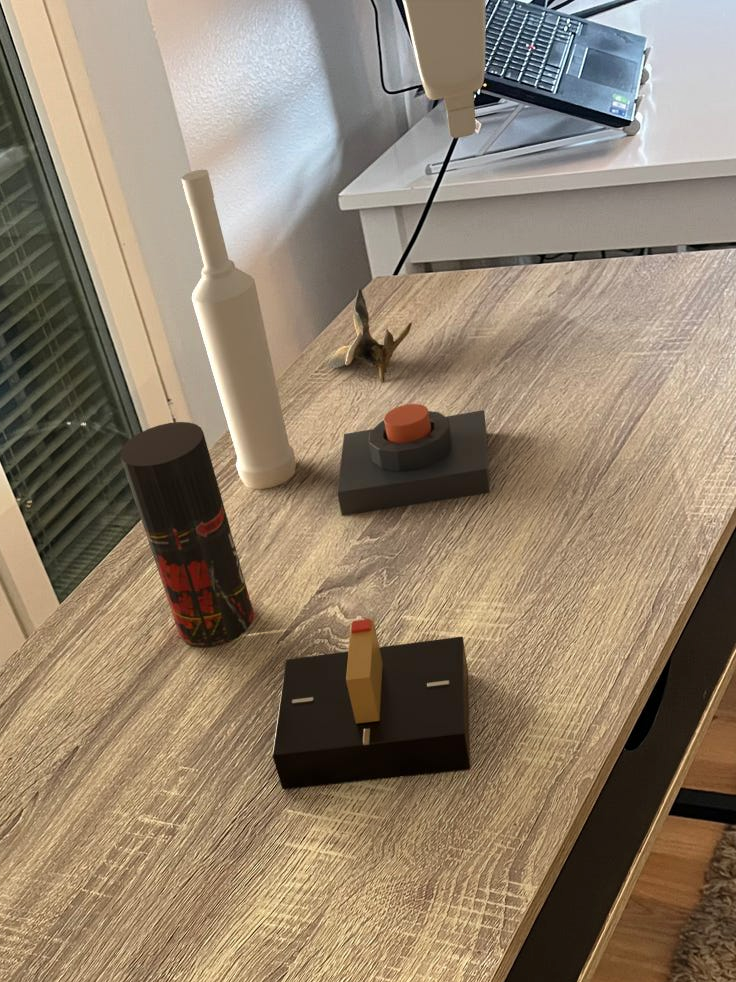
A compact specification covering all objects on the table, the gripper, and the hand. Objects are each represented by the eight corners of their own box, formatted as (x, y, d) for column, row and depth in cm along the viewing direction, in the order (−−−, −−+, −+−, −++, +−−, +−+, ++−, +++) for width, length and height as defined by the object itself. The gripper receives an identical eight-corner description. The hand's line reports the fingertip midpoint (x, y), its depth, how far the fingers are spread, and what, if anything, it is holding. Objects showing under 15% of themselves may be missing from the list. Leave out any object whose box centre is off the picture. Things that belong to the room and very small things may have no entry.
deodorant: (169, 620, 100) (110, 444, 90) (238, 591, 100) (187, 413, 90) (193, 657, 95) (133, 475, 85) (265, 626, 96) (215, 443, 86)
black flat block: (468, 671, 87) (462, 632, 84) (470, 771, 79) (464, 731, 77) (295, 692, 89) (285, 656, 87) (282, 791, 82) (271, 753, 80)
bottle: (304, 458, 114) (236, 156, 97) (290, 488, 110) (217, 182, 94) (249, 462, 116) (173, 168, 99) (234, 493, 112) (152, 193, 95)
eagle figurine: (433, 347, 121) (380, 308, 126) (395, 304, 115) (341, 265, 120) (379, 413, 123) (329, 372, 128) (340, 374, 117) (289, 333, 122)
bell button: (431, 420, 105) (428, 400, 104) (431, 441, 103) (428, 421, 102) (388, 427, 106) (384, 408, 105) (386, 448, 104) (383, 429, 103)
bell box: (487, 433, 109) (481, 389, 106) (489, 493, 102) (484, 447, 99) (348, 456, 112) (339, 414, 109) (341, 516, 105) (332, 472, 102)
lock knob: (379, 721, 80) (369, 673, 78) (355, 724, 80) (344, 676, 78) (382, 663, 84) (373, 616, 82) (360, 666, 85) (349, 619, 82)
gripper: (390, -128, 87) (419, 96, 97) (379, -66, 73) (415, 190, 82) (484, -153, 86) (504, 76, 95) (491, -95, 71) (515, 169, 81)
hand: (463, 130), depth 89 cm, fingers closed
